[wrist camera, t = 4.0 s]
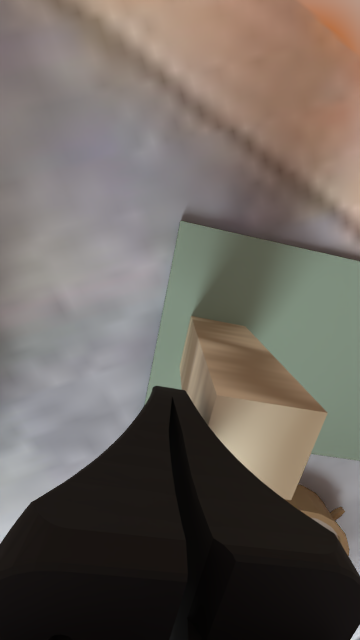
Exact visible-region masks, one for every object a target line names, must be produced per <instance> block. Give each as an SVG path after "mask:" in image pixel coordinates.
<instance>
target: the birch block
mask: <svg viewBox="0 0 360 640" xmlns="http://www.w3.org/2000/svg"><path fill="white" fill-rule="evenodd" d="M180 377H181V388H182V390H185V391H186V392H187V394H188V396H189V397H190V399H191V400H192V402H193V404H194V405H195V407H196V408H197V410H198V411H199V413H200V415H201V416H202V417H203V419H204V420H205V422H206V423H207V425H208V426H209V427H210V429H211V430H212V431H213V432H214V434H215V435H216V436H217V437H218V439H219V440H220V441H221V442H222V443H223V444H224V445H225V447H226V448H227V449H228V450H229V451H230V452H231V453H232V454H233V455H234V456H235V457H236V458H237V459H238V460H239V461H240V462H241V463H242V464H243V465H244V466H245V467H246V468H247V469H248V470H249V471H251V472H252V473H253V474H254V475H255V476H256V477H257V478H258V479H260V480H261V481H262V482H263V483H264V484H266V485H267V486H268V487H269V488H270V489H272V490H273V491H274V492H275V493H277V494H278V495H279V496H281V497H282V498H283V499H286V500H291V499H292V497H293V495H294V492H295V490H296V487H297V485H298V483H299V480H300V478H301V476H302V473H303V471H304V468H305V466H306V464H307V461H308V459H309V456H310V454H311V452H312V449H313V447H314V445H315V442H316V440H317V437H318V435H319V433H320V430H321V428H322V425H323V423H324V421H325V418H326V416H327V414H328V413H327V412H326V411H325V409H324V408H323V407H322V406H321V405H320V404H319V403H318V402H317V401H316V400H315V399H314V398H313V397H312V396H311V395H310V394H309V393H308V392H307V391H306V390H305V389H304V387H303V386H302V385H301V384H300V383H299V382H298V381H297V380H296V379H295V378H294V377H293V376H292V375H291V374H290V373H289V372H288V371H287V370H286V369H285V368H284V366H283V365H282V364H281V363H280V362H279V361H278V360H277V359H276V358H275V357H274V356H273V355H272V354H271V353H270V352H269V351H268V350H267V349H266V348H265V347H264V346H263V344H262V343H261V342H260V341H259V340H258V339H257V338H256V337H255V336H254V335H253V334H252V333H251V332H250V331H249V330H248V329H247V328H246V327H245V326H241V325H236V324H231V323H226V322H220V321H215V320H210V319H205V318H199V317H194V316H191V318H190V323H189V327H188V331H187V336H186V340H185V345H184V349H183V353H182V358H181V362H180Z"/></svg>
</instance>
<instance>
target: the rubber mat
mask: <svg viewBox="0 0 360 640" xmlns="http://www.w3.org/2000/svg"><path fill="white" fill-rule="evenodd" d="M191 316H194V317H199V318H205V319H210V320H215V321H220V322H226V323H231V324H236V325H241V326H245V327H246V328H247V329H248V330H249V331H250V332H251V333H252V334H253V335H254V336H255V337H256V338H257V339H258V340H259V341H260V342H261V343H262V344H263V346H264V347H265V348H266V349H267V350H268V351H269V352H270V353H271V354H272V355H273V356H274V357H275V358H276V359H277V360H278V361H279V362H280V363H281V364H282V365H283V366H284V368H285V369H286V370H287V371H288V372H289V373H290V374H291V375H292V376H293V377H294V378H295V379H296V380H297V381H298V382H299V383H300V384H301V385H302V386H303V387H304V389H305V390H306V391H307V392H308V393H309V394H310V395H311V396H312V397H313V398H314V399H315V400H316V401H317V402H318V403H319V404H320V405H321V406H322V407H323V408H324V409H325V411H326V412H327V413H328V414H327V416H326V418H325V421H324V423H323V425H322V428H321V430H320V433H319V435H318V437H317V440H316V442H315V445H314V447H313V449H312V452H311V454H315V455H322V456H329V457H336V458H343V459H350V460H357V461H360V261H356V260H351V259H347V258H343V257H338V256H334V255H329V254H325V253H321V252H316V251H312V250H307V249H303V248H299V247H294V246H290V245H285V244H281V243H276V242H272V241H268V240H263V239H259V238H254V237H250V236H246V235H241V234H237V233H232V232H228V231H223V230H219V229H215V228H210V227H206V226H201V225H197V224H193V223H188V222H184V221H180V225H179V231H178V236H177V241H176V246H175V251H174V256H173V261H172V266H171V272H170V277H169V282H168V287H167V292H166V297H165V302H164V307H163V313H162V318H161V323H160V328H159V333H158V338H157V343H156V348H155V354H154V359H153V364H152V369H151V374H150V379H149V384H148V389H147V395H146V400H145V404H146V402H147V401H148V399H149V397H150V395H151V392H152V388H153V387H154V386H162V387H168V388H174V389H181V390H182V388H181V377H180V362H181V358H182V353H183V349H184V345H185V340H186V336H187V331H188V327H189V323H190V318H191ZM144 406H145V405H144Z"/></svg>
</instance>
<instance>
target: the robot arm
mask: <svg viewBox="0 0 360 640" xmlns="http://www.w3.org/2000/svg"><path fill="white" fill-rule="evenodd" d="M359 625H360V576H359V574H358V572H357V570H356V569H355V567H354V565H353V564H352V562H351V560H350V558H349V557H348V555H347V553H346V551H345V550H344V548H343V546H342V545H341V543H340V541H339V540H338V538H337V537H336V535H335V534H334V533H333V532H331V531H330V530H328V529H327V528H325V527H324V526H322V525H321V524H319V523H318V522H316V521H315V520H313V519H312V518H310V517H309V516H307V515H306V514H304V513H303V512H301V511H300V510H298V509H297V508H295V507H294V506H293V505H291V504H290V503H289V502H287V501H286V500H285V499H283V498H282V497H281V496H279V495H278V494H277V493H275V492H274V491H273V490H272V489H270V488H269V487H268V486H267V485H266V484H264V483H263V482H262V481H261V480H260V479H258V478H257V477H256V476H255V475H254V474H253V473H252V472H251V471H249V470H248V469H247V468H246V467H245V466H244V465H243V464H242V463H241V462H240V461H239V460H238V459H237V458H236V457H235V456H234V455H233V454H232V453H231V452H230V451H229V450H228V449H227V448H226V447H225V445H224V444H223V443H222V442H221V441H220V440H219V439H218V437H217V436H216V435H215V434H214V432H213V431H212V430H211V429H210V427H209V426H208V425H207V423H206V422H205V420H204V419H203V417H202V416H201V415H200V413H199V411H198V410H197V408H196V407H195V405H194V404H193V402H192V400H191V399H190V397H189V396H188V394H187V392H186V391H185V390H181V389H174V388H168V387H162V386H154V387H153V388H152V392H151V395H150V397H149V399H148V401H147V402H146V404H145V406H144V407H143V409H142V410H141V412H140V413H139V415H138V416H137V417H136V418H135V420H134V421H133V422H132V424H131V425H130V426H129V427H128V428H127V430H126V431H125V432H124V433H123V434H122V435H121V436H120V437H119V438H118V439H117V440H116V441H115V442H114V443H113V444H112V445H111V446H110V447H109V448H108V449H107V450H106V451H104V452H103V453H102V454H101V455H100V456H99V457H98V458H96V459H95V460H94V461H93V462H91V463H90V464H89V465H87V466H86V467H85V468H83V469H82V470H81V471H79V472H78V473H77V474H75V475H74V476H73V477H71V478H70V479H68V480H67V481H65V482H64V483H62V484H60V485H59V486H57V487H56V488H54V489H52V490H51V491H49V492H48V493H46V494H44V495H43V496H41V497H39V498H38V499H36V500H34V501H33V502H31V503H30V504H29V506H28V507H27V508H26V509H25V511H24V512H23V513H22V515H21V516H20V517H19V518H18V520H17V521H16V522H15V524H14V525H13V527H12V528H11V529H10V531H9V532H8V533H7V535H6V536H5V538H4V539H3V541H2V542H1V544H0V640H350V639H351V638H352V636H353V634H354V633H355V631H356V629H357V628H358V626H359Z"/></svg>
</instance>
